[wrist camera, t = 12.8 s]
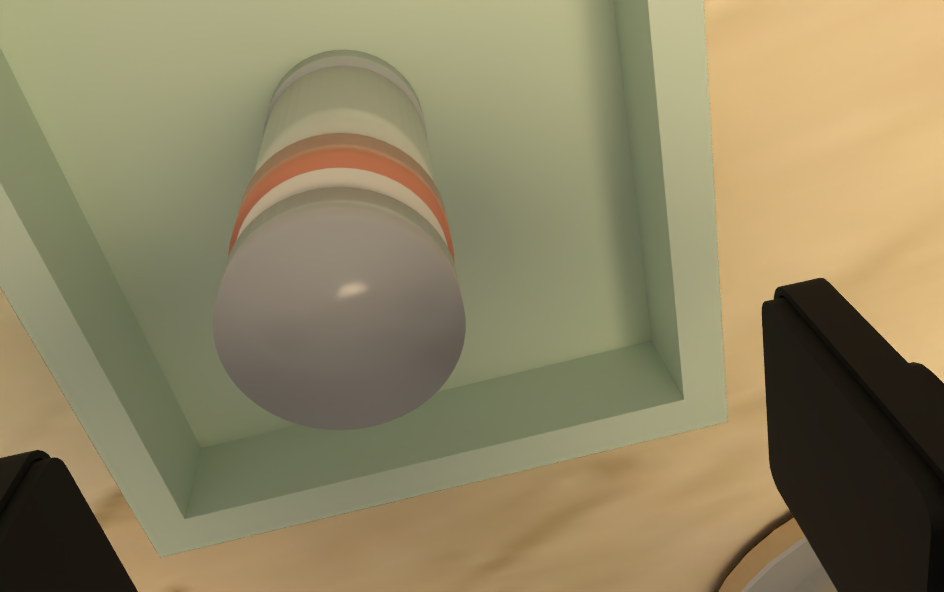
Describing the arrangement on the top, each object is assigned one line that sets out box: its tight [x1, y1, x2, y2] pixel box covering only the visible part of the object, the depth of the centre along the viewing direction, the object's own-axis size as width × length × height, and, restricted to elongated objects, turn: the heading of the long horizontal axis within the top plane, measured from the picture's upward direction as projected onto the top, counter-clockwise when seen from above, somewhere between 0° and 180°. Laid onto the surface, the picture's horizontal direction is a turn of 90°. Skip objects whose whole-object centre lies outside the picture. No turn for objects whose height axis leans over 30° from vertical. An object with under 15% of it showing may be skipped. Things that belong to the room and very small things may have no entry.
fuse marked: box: [213, 50, 466, 430], centre depth 15 cm, size 3×3×8 cm
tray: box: [0, 0, 728, 558], centre depth 17 cm, size 16×14×3 cm
